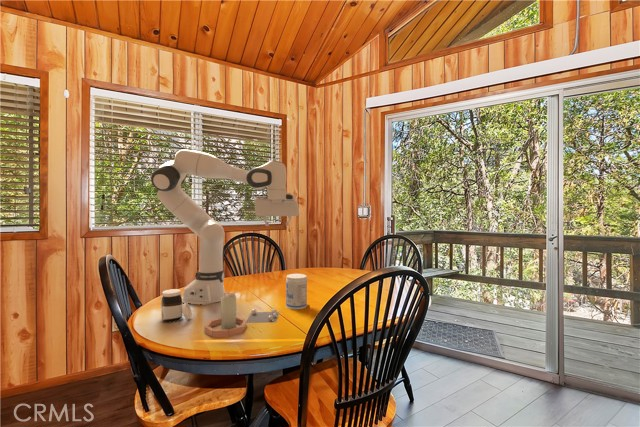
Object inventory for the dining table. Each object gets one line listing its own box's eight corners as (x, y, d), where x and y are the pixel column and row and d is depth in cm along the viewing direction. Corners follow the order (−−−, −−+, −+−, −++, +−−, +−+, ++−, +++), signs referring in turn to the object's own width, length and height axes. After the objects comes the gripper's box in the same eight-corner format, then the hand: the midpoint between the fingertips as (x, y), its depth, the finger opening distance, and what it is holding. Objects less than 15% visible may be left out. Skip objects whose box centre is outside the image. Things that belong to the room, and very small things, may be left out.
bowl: (200, 339, 112) (200, 331, 112) (212, 323, 126) (212, 316, 126) (241, 338, 112) (240, 330, 112) (249, 323, 127) (248, 316, 126)
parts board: (245, 324, 125) (245, 317, 125) (251, 314, 137) (251, 307, 137) (276, 324, 126) (276, 316, 126) (279, 313, 138) (279, 306, 138)
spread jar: (159, 317, 133) (159, 289, 133) (188, 312, 140) (188, 286, 139) (164, 326, 123) (163, 296, 123) (194, 320, 130) (194, 292, 129)
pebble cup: (219, 331, 117) (219, 294, 117) (223, 325, 123) (223, 290, 123) (234, 331, 118) (234, 294, 117) (237, 325, 123) (237, 290, 123)
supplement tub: (281, 308, 145) (281, 275, 145) (296, 303, 153) (296, 272, 152) (296, 312, 139) (296, 279, 139) (311, 307, 146) (311, 275, 146)
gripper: (253, 196, 145) (253, 226, 145) (298, 195, 145) (298, 226, 146) (255, 196, 151) (256, 225, 151) (299, 196, 151) (299, 225, 152)
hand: (277, 225), depth 148 cm, fingers open, 8 cm apart
